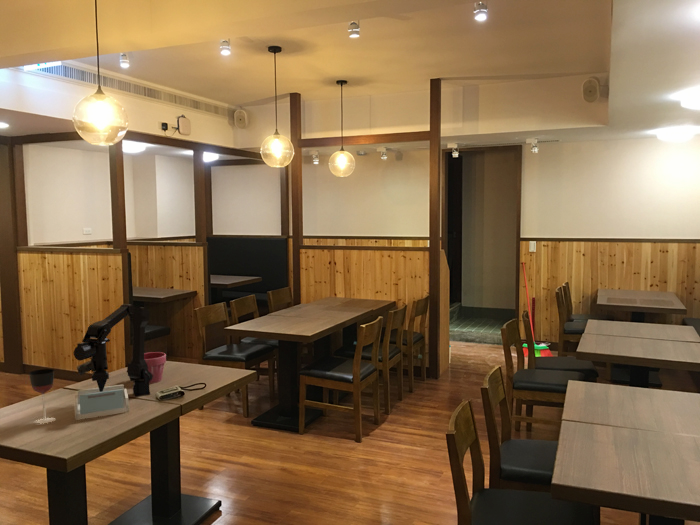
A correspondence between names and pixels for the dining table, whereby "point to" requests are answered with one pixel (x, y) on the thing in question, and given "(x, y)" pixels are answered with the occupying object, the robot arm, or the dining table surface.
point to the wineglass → (42, 387)
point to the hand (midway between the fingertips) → (101, 391)
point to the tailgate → (101, 401)
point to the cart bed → (101, 413)
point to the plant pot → (155, 364)
